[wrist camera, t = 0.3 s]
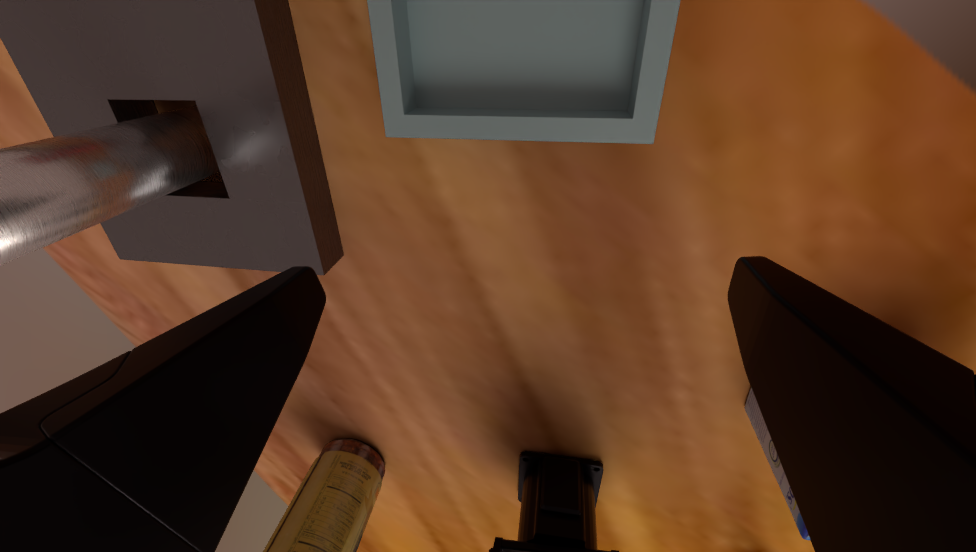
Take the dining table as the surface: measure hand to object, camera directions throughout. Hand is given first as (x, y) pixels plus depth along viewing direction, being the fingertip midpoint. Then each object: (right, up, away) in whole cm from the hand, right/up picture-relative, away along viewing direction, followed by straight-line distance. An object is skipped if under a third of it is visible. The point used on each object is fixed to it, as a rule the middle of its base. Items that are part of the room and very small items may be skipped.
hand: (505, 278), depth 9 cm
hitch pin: (-17, +8, +15) cm, 24 cm away
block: (-17, +8, +15) cm, 24 cm away
